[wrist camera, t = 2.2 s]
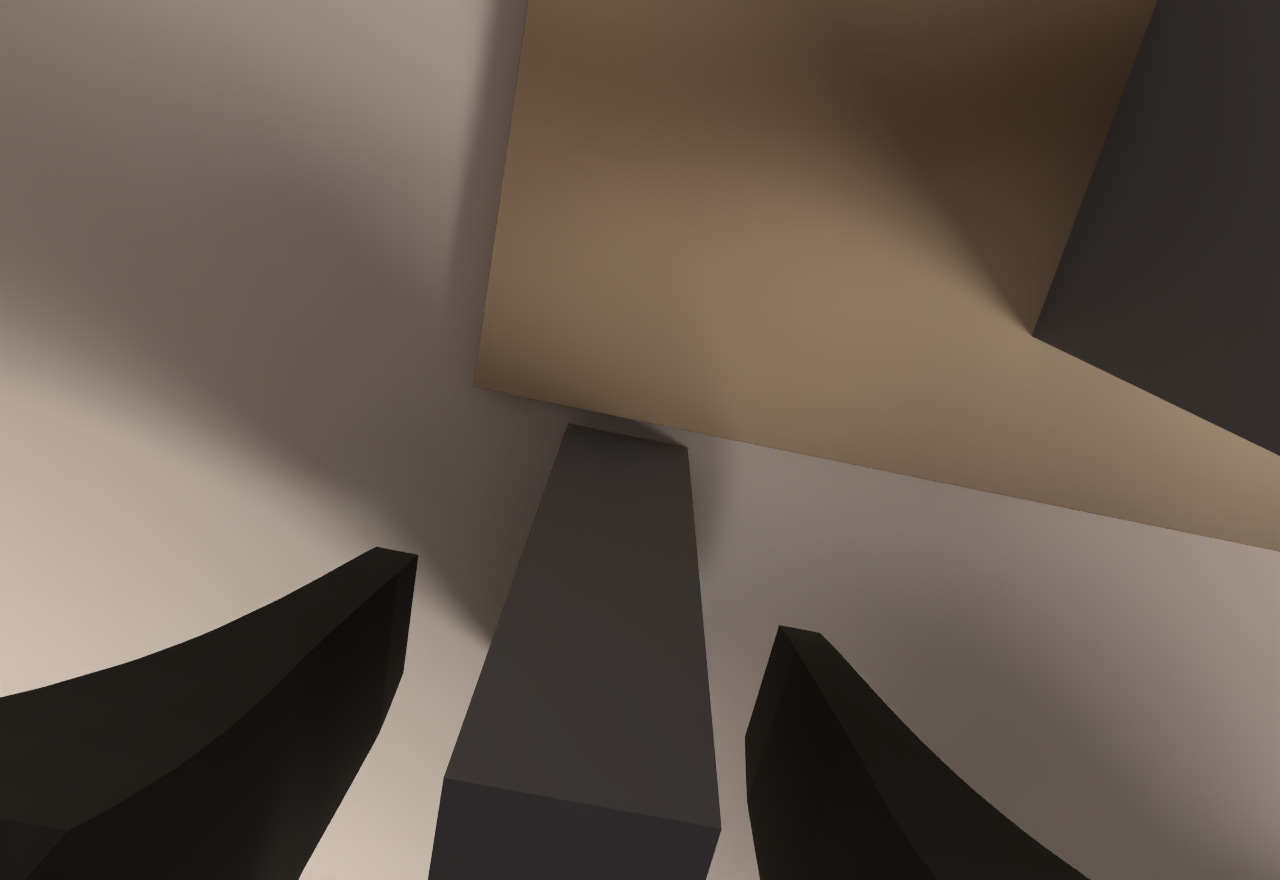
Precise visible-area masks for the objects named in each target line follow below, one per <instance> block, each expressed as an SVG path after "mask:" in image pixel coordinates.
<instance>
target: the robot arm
mask: <svg viewBox="0 0 1280 880" xmlns="http://www.w3.org/2000/svg"><path fill="white" fill-rule="evenodd" d="M417 561H418V555H416V554H411V553H406V552H400V551H395V550H390V549H385V548H380V547H375V548H373V549H371V550H369V551H367V552H365V553H363V554H362V555H360V556H358V557H356V558H354V559H352V560H351V561H349V562H347V563H345V564H343V565H342V566H340V567H338V568H336V569H335V570H333V571H331V572H329V573H327V574H326V575H324V576H322V577H320V578H318V579H316V580H314V581H313V582H311V583H309V584H307V585H305V586H303V587H301V588H300V589H298V590H296V591H294V592H292V593H290V594H288V595H286V596H285V597H283V598H281V599H279V600H277V601H275V602H273V603H270V604H268V605H266V606H264V607H262V608H260V609H258V610H256V611H253V612H251V613H249V614H247V615H245V616H243V617H241V618H239V619H236V620H234V621H232V622H230V623H228V624H226V625H224V626H222V627H219V628H217V629H215V630H213V631H210V632H208V633H205V634H203V635H201V636H198V637H196V638H193V639H191V640H188V641H186V642H183V643H181V644H178V645H175V646H173V647H170V648H167V649H164V650H162V651H159V652H156V653H153V654H151V655H148V656H145V657H142V658H139V659H137V660H134V661H131V662H128V663H125V664H121V665H118V666H114V667H111V668H108V669H104V670H101V671H97V672H94V673H90V674H87V675H84V676H80V677H77V678H73V679H70V680H66V681H63V682H60V683H56V684H53V685H49V686H46V687H42V688H38V689H34V690H30V691H26V692H22V693H18V694H13V695H9V696H5V697H1V698H0V880H298V879H299V877H300V875H301V873H302V871H303V869H304V868H305V866H306V864H307V862H308V860H309V859H310V857H311V855H312V853H313V852H314V850H315V848H316V846H317V844H318V843H319V841H320V839H321V837H322V835H323V834H324V832H325V830H326V828H327V827H328V825H329V823H330V821H331V819H332V818H333V816H334V814H335V812H336V810H337V809H338V807H339V805H340V803H341V802H342V800H343V798H344V796H345V794H346V793H347V791H348V789H349V787H350V785H351V784H352V782H353V780H354V778H355V776H356V775H357V773H358V771H359V769H360V767H361V766H362V764H363V762H364V760H365V758H366V757H367V755H368V753H369V751H370V749H371V747H372V746H373V744H374V742H375V740H376V738H377V736H378V734H379V732H380V730H381V728H382V725H383V723H384V720H385V718H386V715H387V713H388V711H389V708H390V706H391V703H392V701H393V698H394V695H395V693H396V690H397V688H398V685H399V683H400V680H401V677H402V675H403V671H404V663H405V655H406V647H407V640H408V632H409V624H410V616H411V608H412V600H413V592H414V585H415V577H416V569H417ZM745 757H746V785H747V803H748V809H749V816H750V822H751V828H752V834H753V840H754V846H755V853H756V858H757V864H758V870H759V876H760V880H1090V879H1088V878H1087V877H1085V876H1084V875H1083V874H1081V873H1080V872H1078V871H1077V870H1076V869H1074V868H1073V867H1071V866H1070V865H1069V864H1067V863H1066V862H1064V861H1063V860H1062V859H1060V858H1059V857H1057V856H1056V855H1055V854H1053V853H1052V852H1050V851H1049V850H1048V849H1046V848H1045V847H1044V846H1042V845H1041V844H1040V843H1038V842H1037V841H1036V840H1034V839H1033V838H1032V837H1030V836H1029V835H1028V834H1027V833H1025V832H1024V831H1023V830H1021V829H1020V828H1019V827H1018V826H1016V825H1015V824H1014V823H1013V822H1011V821H1010V820H1009V819H1008V818H1007V817H1005V816H1004V815H1003V814H1002V813H1001V812H999V811H998V810H997V809H996V808H995V807H993V806H992V805H991V804H990V803H988V802H987V801H986V800H985V799H984V798H982V797H981V796H980V795H979V794H978V793H976V792H975V791H974V790H973V789H972V788H971V787H970V786H969V785H967V784H966V783H965V782H964V781H963V780H962V779H961V778H960V777H958V776H957V775H956V774H955V773H954V772H953V771H952V770H951V769H950V768H949V767H948V766H947V765H946V764H945V763H944V762H943V761H942V760H940V759H939V758H938V757H937V756H936V755H935V754H934V753H933V752H932V751H931V750H930V749H929V748H928V747H927V746H926V745H925V744H924V743H923V742H922V741H921V740H920V739H919V738H918V737H917V736H916V735H915V734H914V733H913V732H912V731H911V730H910V729H909V728H908V727H907V726H906V725H905V724H904V723H903V722H902V721H901V720H900V719H899V718H898V717H897V716H896V715H895V713H894V712H893V711H892V710H891V709H890V708H889V707H888V706H887V705H886V704H885V703H884V702H883V701H882V699H881V698H880V697H879V696H878V695H877V694H876V693H875V692H874V691H873V690H872V689H871V687H870V686H869V685H868V684H867V683H866V682H865V681H864V680H863V679H862V677H861V676H860V675H859V674H858V673H857V672H856V671H855V670H854V669H853V667H852V666H851V665H850V664H849V663H848V662H847V661H846V660H845V659H844V658H843V656H842V655H841V654H840V653H839V652H838V651H837V650H836V649H835V648H834V647H833V646H832V645H831V644H830V643H829V642H828V641H827V640H826V639H825V638H824V637H823V636H822V635H821V634H820V633H817V632H812V631H807V630H802V629H797V628H791V627H786V626H781V625H779V628H778V631H777V634H776V637H775V641H774V644H773V647H772V650H771V654H770V657H769V660H768V664H767V667H766V670H765V673H764V677H763V680H762V683H761V687H760V690H759V693H758V696H757V700H756V703H755V706H754V709H753V713H752V716H751V719H750V723H749V726H748V729H747V732H746V736H745Z"/></svg>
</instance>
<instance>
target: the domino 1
mask: <svg viewBox="0 0 1280 880" xmlns="http://www.w3.org/2000/svg"><path fill="white" fill-rule="evenodd" d="M720 832H721V817H720V806H719V795H718V784H717V772H716V761H715V750H714V739H713V728H712V716H711V705H710V694H709V683H708V671H707V660H706V649H705V638H704V626H703V615H702V604H701V593H700V582H699V570H698V559H697V548H696V537H695V525H694V514H693V503H692V492H691V480H690V469H689V458H688V448H686V447H681V446H676V445H671V444H666V443H661V442H656V441H651V440H646V439H641V438H636V437H631V436H626V435H622V434H617V433H612V432H607V431H602V430H597V429H592V428H587V427H582V426H577V425H572V424H568V426H567V429H566V432H565V435H564V438H563V440H562V443H561V446H560V449H559V452H558V455H557V457H556V460H555V463H554V466H553V469H552V472H551V474H550V477H549V480H548V483H547V486H546V489H545V492H544V494H543V497H542V500H541V503H540V506H539V509H538V511H537V514H536V517H535V520H534V523H533V526H532V528H531V531H530V534H529V537H528V540H527V543H526V546H525V548H524V551H523V554H522V557H521V560H520V563H519V565H518V568H517V571H516V574H515V577H514V580H513V583H512V585H511V588H510V591H509V594H508V597H507V600H506V602H505V605H504V608H503V611H502V614H501V617H500V619H499V622H498V625H497V628H496V631H495V634H494V637H493V639H492V642H491V645H490V648H489V651H488V654H487V656H486V659H485V662H484V665H483V668H482V671H481V673H480V676H479V679H478V682H477V685H476V688H475V691H474V693H473V696H472V699H471V702H470V705H469V708H468V710H467V713H466V716H465V719H464V722H463V725H462V727H461V730H460V733H459V736H458V739H457V742H456V745H455V747H454V750H453V753H452V756H451V759H450V762H449V764H448V767H447V770H446V773H445V776H444V780H443V786H442V793H441V799H440V805H439V812H438V818H437V825H436V831H435V838H434V844H433V851H432V857H431V863H430V870H429V876H428V880H706V877H707V874H708V871H709V868H710V864H711V861H712V858H713V855H714V851H715V848H716V845H717V842H718V838H719V835H720Z"/></svg>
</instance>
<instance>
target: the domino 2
mask: <svg viewBox="0 0 1280 880" xmlns="http://www.w3.org/2000/svg"><path fill="white" fill-rule="evenodd" d="M1032 337H1034V338H1036V339H1038V340H1041V341H1043V342H1045V343H1047V344H1049V345H1051V346H1053V347H1055V348H1057V349H1059V350H1061V351H1063V352H1065V353H1067V354H1070V355H1072V356H1074V357H1076V358H1078V359H1080V360H1082V361H1084V362H1086V363H1088V364H1090V365H1092V366H1094V367H1096V368H1099V369H1101V370H1103V371H1105V372H1107V373H1109V374H1111V375H1113V376H1115V377H1117V378H1119V379H1121V380H1123V381H1125V382H1128V383H1130V384H1132V385H1134V386H1136V387H1138V388H1140V389H1142V390H1144V391H1146V392H1148V393H1150V394H1152V395H1154V396H1157V397H1159V398H1161V399H1163V400H1165V401H1167V402H1169V403H1171V404H1173V405H1175V406H1177V407H1179V408H1181V409H1183V410H1186V411H1188V412H1190V413H1192V414H1194V415H1196V416H1198V417H1200V418H1202V419H1204V420H1206V421H1208V422H1210V423H1212V424H1215V425H1217V426H1219V427H1221V428H1223V429H1225V430H1227V431H1229V432H1231V433H1233V434H1235V435H1237V436H1239V437H1241V438H1244V439H1246V440H1248V441H1250V442H1252V443H1254V444H1256V445H1258V446H1260V447H1262V448H1264V449H1266V450H1268V451H1270V452H1273V453H1275V454H1277V455H1279V456H1280V0H1157V3H1156V6H1155V8H1154V11H1153V14H1152V16H1151V19H1150V22H1149V24H1148V27H1147V30H1146V32H1145V35H1144V38H1143V40H1142V43H1141V46H1140V48H1139V51H1138V54H1137V56H1136V59H1135V62H1134V64H1133V67H1132V70H1131V72H1130V75H1129V78H1128V81H1127V83H1126V86H1125V89H1124V91H1123V94H1122V97H1121V99H1120V102H1119V105H1118V107H1117V110H1116V113H1115V115H1114V118H1113V121H1112V123H1111V126H1110V129H1109V131H1108V134H1107V137H1106V139H1105V142H1104V145H1103V147H1102V150H1101V153H1100V155H1099V158H1098V161H1097V163H1096V166H1095V169H1094V171H1093V174H1092V177H1091V179H1090V182H1089V185H1088V187H1087V190H1086V193H1085V195H1084V198H1083V201H1082V203H1081V206H1080V209H1079V211H1078V214H1077V217H1076V219H1075V222H1074V225H1073V227H1072V230H1071V233H1070V235H1069V238H1068V241H1067V243H1066V246H1065V249H1064V251H1063V254H1062V257H1061V259H1060V262H1059V265H1058V267H1057V270H1056V273H1055V275H1054V278H1053V281H1052V283H1051V286H1050V289H1049V291H1048V294H1047V297H1046V299H1045V302H1044V305H1043V307H1042V310H1041V313H1040V315H1039V318H1038V321H1037V323H1036V326H1035V329H1034V332H1033V334H1032Z"/></svg>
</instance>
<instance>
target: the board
mask: <svg viewBox="0 0 1280 880" xmlns="http://www.w3.org/2000/svg"><path fill="white" fill-rule="evenodd" d="M1156 3H1157V0H528V5H527V12H526V19H525V26H524V33H523V40H522V47H521V55H520V62H519V69H518V76H517V83H516V90H515V97H514V104H513V111H512V118H511V125H510V132H509V139H508V146H507V153H506V160H505V167H504V174H503V181H502V188H501V195H500V203H499V210H498V217H497V224H496V231H495V238H494V245H493V252H492V259H491V266H490V273H489V280H488V287H487V294H486V301H485V308H484V315H483V322H482V329H481V336H480V343H479V351H478V358H477V365H476V372H475V379H474V386H473V387H476V388H481V389H486V390H491V391H496V392H501V393H506V394H510V395H515V396H520V397H525V398H530V399H535V400H540V401H545V402H550V403H555V404H559V405H564V406H569V407H574V408H579V409H584V410H589V411H594V412H599V413H604V414H608V415H613V416H618V417H623V418H628V419H633V420H638V421H643V422H648V423H653V424H657V425H662V426H667V427H672V428H677V429H682V430H687V431H692V432H697V433H702V434H706V435H711V436H716V437H721V438H726V439H731V440H736V441H741V442H746V443H751V444H755V445H760V446H765V447H770V448H775V449H780V450H785V451H790V452H795V453H800V454H804V455H809V456H814V457H819V458H824V459H829V460H834V461H839V462H844V463H849V464H853V465H858V466H863V467H868V468H873V469H878V470H883V471H888V472H893V473H898V474H902V475H907V476H912V477H917V478H922V479H927V480H932V481H937V482H942V483H947V484H951V485H956V486H961V487H966V488H971V489H976V490H981V491H986V492H991V493H996V494H1000V495H1005V496H1010V497H1015V498H1020V499H1025V500H1030V501H1035V502H1040V503H1045V504H1049V505H1054V506H1059V507H1064V508H1069V509H1074V510H1079V511H1084V512H1089V513H1094V514H1098V515H1103V516H1108V517H1113V518H1118V519H1123V520H1128V521H1133V522H1138V523H1143V524H1147V525H1152V526H1157V527H1162V528H1167V529H1172V530H1177V531H1182V532H1187V533H1192V534H1196V535H1201V536H1206V537H1211V538H1216V539H1221V540H1226V541H1231V542H1236V543H1241V544H1245V545H1250V546H1255V547H1260V548H1265V549H1270V550H1275V551H1280V456H1279V455H1277V454H1275V453H1273V452H1270V451H1268V450H1266V449H1264V448H1262V447H1260V446H1258V445H1256V444H1254V443H1252V442H1250V441H1248V440H1246V439H1244V438H1241V437H1239V436H1237V435H1235V434H1233V433H1231V432H1229V431H1227V430H1225V429H1223V428H1221V427H1219V426H1217V425H1215V424H1212V423H1210V422H1208V421H1206V420H1204V419H1202V418H1200V417H1198V416H1196V415H1194V414H1192V413H1190V412H1188V411H1186V410H1183V409H1181V408H1179V407H1177V406H1175V405H1173V404H1171V403H1169V402H1167V401H1165V400H1163V399H1161V398H1159V397H1157V396H1154V395H1152V394H1150V393H1148V392H1146V391H1144V390H1142V389H1140V388H1138V387H1136V386H1134V385H1132V384H1130V383H1128V382H1125V381H1123V380H1121V379H1119V378H1117V377H1115V376H1113V375H1111V374H1109V373H1107V372H1105V371H1103V370H1101V369H1099V368H1096V367H1094V366H1092V365H1090V364H1088V363H1086V362H1084V361H1082V360H1080V359H1078V358H1076V357H1074V356H1072V355H1070V354H1067V353H1065V352H1063V351H1061V350H1059V349H1057V348H1055V347H1053V346H1051V345H1049V344H1047V343H1045V342H1043V341H1041V340H1038V339H1036V338H1034V337H1032V334H1033V332H1034V329H1035V326H1036V323H1037V321H1038V318H1039V315H1040V313H1041V310H1042V307H1043V305H1044V302H1045V299H1046V297H1047V294H1048V291H1049V289H1050V286H1051V283H1052V281H1053V278H1054V275H1055V273H1056V270H1057V267H1058V265H1059V262H1060V259H1061V257H1062V254H1063V251H1064V249H1065V246H1066V243H1067V241H1068V238H1069V235H1070V233H1071V230H1072V227H1073V225H1074V222H1075V219H1076V217H1077V214H1078V211H1079V209H1080V206H1081V203H1082V201H1083V198H1084V195H1085V193H1086V190H1087V187H1088V185H1089V182H1090V179H1091V177H1092V174H1093V171H1094V169H1095V166H1096V163H1097V161H1098V158H1099V155H1100V153H1101V150H1102V147H1103V145H1104V142H1105V139H1106V137H1107V134H1108V131H1109V129H1110V126H1111V123H1112V121H1113V118H1114V115H1115V113H1116V110H1117V107H1118V105H1119V102H1120V99H1121V97H1122V94H1123V91H1124V89H1125V86H1126V83H1127V81H1128V78H1129V75H1130V72H1131V70H1132V67H1133V64H1134V62H1135V59H1136V56H1137V54H1138V51H1139V48H1140V46H1141V43H1142V40H1143V38H1144V35H1145V32H1146V30H1147V27H1148V24H1149V22H1150V19H1151V16H1152V14H1153V11H1154V8H1155V6H1156Z"/></svg>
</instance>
